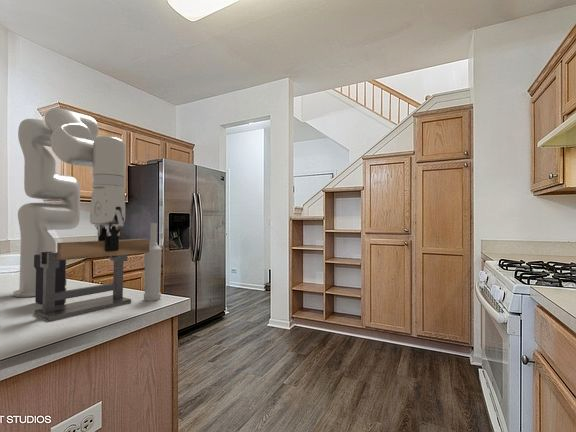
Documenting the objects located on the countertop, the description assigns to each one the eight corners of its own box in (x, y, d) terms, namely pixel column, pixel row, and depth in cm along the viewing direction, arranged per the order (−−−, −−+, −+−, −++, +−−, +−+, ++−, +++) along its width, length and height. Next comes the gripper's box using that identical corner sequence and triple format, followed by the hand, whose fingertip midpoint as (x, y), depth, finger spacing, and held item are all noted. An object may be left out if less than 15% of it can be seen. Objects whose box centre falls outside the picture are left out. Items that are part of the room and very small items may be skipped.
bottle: (154, 301, 94) (155, 223, 95) (139, 300, 95) (141, 222, 96) (164, 297, 100) (165, 223, 100) (150, 296, 101) (151, 222, 101)
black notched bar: (67, 304, 90) (68, 255, 90) (51, 308, 86) (52, 256, 87) (49, 300, 95) (50, 253, 96) (32, 303, 91) (33, 254, 92)
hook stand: (34, 314, 80) (35, 251, 81) (114, 298, 98) (115, 246, 98) (48, 321, 75) (50, 254, 75) (131, 303, 93) (132, 248, 93)
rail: (57, 259, 72) (57, 242, 72) (143, 252, 90) (143, 239, 90) (62, 260, 70) (62, 243, 70) (149, 252, 89) (149, 239, 89)
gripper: (79, 184, 82) (78, 250, 82) (110, 178, 73) (109, 253, 73) (108, 186, 89) (107, 248, 88) (139, 182, 80) (138, 251, 79)
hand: (108, 250), depth 80 cm, fingers closed on rail, 3 cm apart
